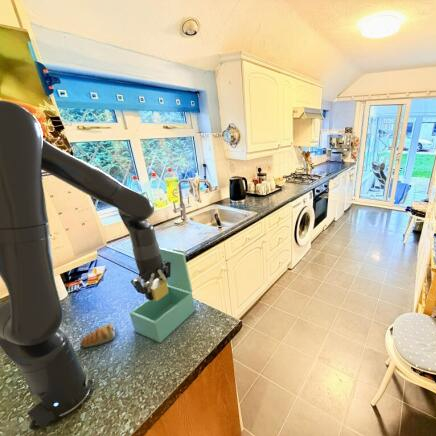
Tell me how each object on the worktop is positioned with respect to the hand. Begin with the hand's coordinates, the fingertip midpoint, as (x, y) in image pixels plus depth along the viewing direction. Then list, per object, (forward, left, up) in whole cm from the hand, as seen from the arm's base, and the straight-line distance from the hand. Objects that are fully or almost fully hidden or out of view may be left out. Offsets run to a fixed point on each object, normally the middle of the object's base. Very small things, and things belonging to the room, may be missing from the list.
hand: (157, 294), depth 85 cm
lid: (+9, 0, +5) cm, 10 cm away
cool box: (+1, 0, -13) cm, 13 cm away
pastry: (-14, +14, -13) cm, 24 cm away
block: (0, 0, 0) cm, 0 cm away
